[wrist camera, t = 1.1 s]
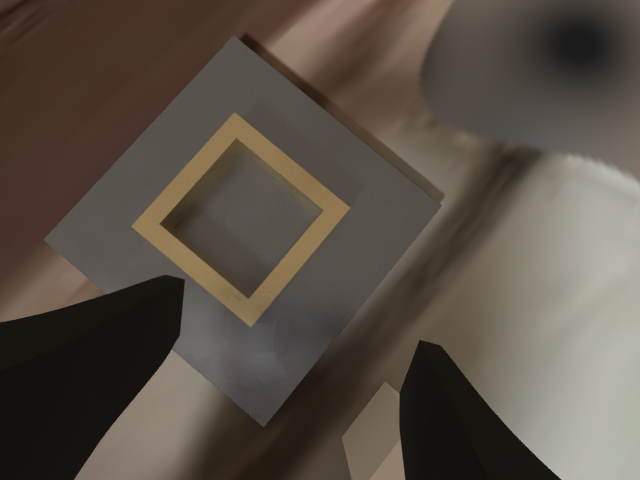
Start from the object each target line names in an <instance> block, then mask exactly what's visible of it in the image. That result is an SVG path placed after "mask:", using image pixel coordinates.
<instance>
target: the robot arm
mask: <svg viewBox="0 0 640 480" xmlns="http://www.w3.org/2000/svg"><path fill="white" fill-rule="evenodd" d="M184 286H185V279H181V278H177V277H174V276H170V275H162V276H159V277H155V278H152V279H149V280H146V281H143V282H141V283H138V284H135V285H132V286H129V287H126V288H124V289H121V290H118V291H115V292H112V293H109V294H106V295H103V296H100V297H97V298H94V299H91V300H87V301H84V302H81V303H78V304H75V305H71V306H68V307H65V308H61V309H58V310H54V311H50V312H46V313H42V314H38V315H34V316H29V317H25V318H21V319H16V320H11V321H6V322H0V480H74V479H75V477H76V476H77V474H78V473H79V471H80V470H81V468H82V467H83V465H84V464H85V462H86V461H87V459H88V458H89V456H90V455H91V453H92V452H93V451H94V449H95V448H96V446H97V445H98V443H99V442H100V440H101V439H102V438H103V436H104V435H105V434H106V432H107V431H108V430H109V428H110V427H111V426H112V424H113V423H114V422H115V421H116V420H117V418H118V417H119V416H120V415H121V414H122V412H123V411H124V410H125V409H126V407H127V406H128V405H129V404H130V403H131V401H132V400H133V399H134V398H135V397H136V395H137V394H138V393H139V392H140V391H141V389H142V388H143V387H144V386H145V384H146V383H147V382H148V381H149V380H150V378H151V377H152V376H153V375H154V373H155V372H156V371H157V370H158V368H159V367H160V366H161V365H162V363H163V362H164V360H165V359H166V357H167V356H168V354H169V353H170V351H171V349H172V348H173V346H174V344H175V343H176V341H177V339H178V338H179V336H180V330H181V319H182V308H183V297H184ZM399 429H400V439H401V447H402V456H403V465H404V473H405V480H561V479H560V478H559V477H558V476H557V475H555V474H554V473H553V472H552V471H551V470H550V469H549V468H548V467H547V466H546V465H545V464H543V463H542V462H541V461H540V460H539V459H538V458H537V457H536V456H535V455H534V454H533V453H532V452H531V451H530V450H529V449H528V448H527V447H526V446H525V445H524V444H523V443H522V442H521V441H520V440H519V439H518V438H517V437H516V436H515V435H514V434H513V433H512V431H511V430H510V429H509V428H508V427H507V426H506V425H505V424H504V423H503V421H502V420H501V419H500V418H499V417H498V416H497V415H496V414H495V413H494V411H493V410H492V409H491V408H490V407H489V406H488V404H487V403H486V402H485V401H484V400H483V398H482V397H481V396H480V395H479V394H478V392H477V391H476V390H475V389H474V387H473V386H472V385H471V384H470V382H469V381H468V380H467V378H466V377H465V376H464V375H463V373H462V372H461V371H460V369H459V368H458V367H457V366H456V364H455V363H454V362H453V360H452V359H451V358H450V356H449V355H448V354H447V353H446V351H445V350H444V349H443V348H442V347H441V346H440V345H437V344H433V343H429V342H425V341H422V340H420V341H419V343H418V346H417V349H416V351H415V354H414V357H413V359H412V362H411V365H410V367H409V370H408V373H407V375H406V378H405V381H404V383H403V386H402V389H401V391H400V399H399Z"/></svg>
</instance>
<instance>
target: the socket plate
mask: <svg viewBox="0 0 640 480" xmlns="http://www.w3.org/2000/svg"><path fill="white" fill-rule="evenodd" d="M440 207H441V205H440V204H439V203H438V202H436V201H435V200H434V199H433V198H432V197H430V196H429V195H428V194H427V193H425V192H424V191H423V190H422V189H421V188H419V187H418V186H417V185H416V184H414V183H413V182H412V181H411V180H410V179H408V178H407V177H406V176H405V175H404V174H402V173H401V172H400V171H399V170H397V169H396V168H395V167H394V166H393V165H391V164H390V163H389V162H388V161H386V160H385V159H384V158H383V157H382V156H380V155H379V154H378V153H377V152H375V151H374V150H373V149H372V148H371V147H369V146H368V145H367V144H366V143H364V142H363V141H362V140H361V139H360V138H358V137H357V136H356V135H355V134H353V133H352V132H351V131H350V130H349V129H347V128H346V127H345V126H344V125H342V124H341V123H340V122H339V121H338V120H336V119H335V118H334V117H333V116H331V115H330V114H329V113H328V112H327V111H325V110H324V109H323V108H322V107H320V106H319V105H318V104H317V103H316V102H314V101H313V100H312V99H311V98H309V97H308V96H307V95H306V94H305V93H303V92H302V91H301V90H300V89H298V88H297V87H296V86H295V85H294V84H292V83H291V82H290V81H289V80H288V79H286V78H285V77H284V76H283V75H281V74H280V73H279V72H278V71H277V70H275V69H274V68H273V67H272V66H270V65H269V64H268V63H267V62H266V61H264V60H263V59H262V58H261V57H259V56H258V55H257V54H256V53H255V52H253V51H252V50H251V49H250V48H248V47H247V46H246V45H245V44H244V43H242V42H241V41H240V40H239V39H237V38H236V37H235V36H233V37H232V38H231V39H230V40H229V41H228V42H227V43H226V44H225V45H224V46H223V48H222V49H221V50H220V51H219V52H218V53H217V54H216V55H215V56H214V57H213V58H212V59H211V60H210V61H209V63H208V64H207V65H206V66H205V67H204V68H203V69H202V70H201V71H200V72H199V73H198V74H197V75H196V77H195V78H194V79H193V80H192V81H191V82H190V83H189V84H188V85H187V86H186V87H185V88H184V89H183V91H182V92H181V93H180V94H179V95H178V96H177V97H176V98H175V99H174V100H173V101H172V102H171V103H170V104H169V106H168V107H167V108H166V109H165V110H164V111H163V112H162V113H161V114H160V115H159V116H158V117H157V118H156V120H155V121H154V122H153V123H152V124H151V125H150V126H149V127H148V128H147V129H146V130H145V131H144V132H143V134H142V135H141V136H140V137H139V138H138V139H137V140H136V141H135V142H134V143H133V144H132V145H131V146H130V147H129V149H128V150H127V151H126V152H125V153H124V154H123V155H122V156H121V157H120V158H119V159H118V160H117V161H116V163H115V164H114V165H113V166H112V167H111V168H110V169H109V170H108V171H107V172H106V173H105V174H104V175H103V176H102V178H101V179H100V180H99V181H98V182H97V183H96V184H95V185H94V186H93V187H92V188H91V189H90V190H89V192H88V193H87V194H86V195H85V196H84V197H83V198H82V199H81V200H80V201H79V202H78V203H77V204H76V206H75V207H74V208H73V209H72V210H71V211H70V212H69V213H68V214H67V215H66V216H65V217H64V218H63V219H62V221H61V222H60V223H59V224H58V225H57V226H56V227H55V228H54V229H53V230H52V231H51V232H50V233H49V235H48V236H47V237H46V238H45V239H44V241H46V242H47V243H48V244H49V245H50V246H51V247H53V248H54V249H55V250H56V251H57V252H58V253H60V254H61V255H62V256H63V257H64V258H65V259H67V260H68V261H69V262H70V263H71V264H72V265H74V266H75V267H76V268H77V269H78V270H80V271H81V272H82V273H83V274H84V275H85V276H87V277H88V278H89V279H90V280H91V281H92V282H94V283H95V284H96V285H97V286H98V287H99V288H101V289H102V290H103V291H104V292H105V293H107V294H109V293H112V292H115V291H118V290H121V289H124V288H126V287H129V286H132V285H135V284H138V283H141V282H143V281H146V280H149V279H152V278H155V277H159V276H162V275H170V276H174V277H177V278H181V279H185V286H184V297H183V308H182V319H181V330H180V336H179V338H178V339H177V341H176V343H175V344H174V346H173V348H172V350H173V351H175V352H176V353H177V354H178V355H179V356H180V357H182V358H183V359H184V360H185V361H186V362H187V363H189V364H190V365H191V366H192V367H193V368H195V369H196V370H197V371H198V372H199V373H200V374H202V375H203V376H204V377H205V378H206V379H207V380H209V381H210V382H211V383H212V384H213V385H214V386H216V387H217V388H218V389H219V390H220V391H221V392H223V393H224V394H225V395H226V396H227V397H229V398H230V399H231V400H232V401H233V402H234V403H236V404H237V405H238V406H239V407H240V408H241V409H243V410H244V411H245V412H246V413H247V414H248V415H250V416H251V417H252V418H253V419H254V420H256V421H257V422H258V423H259V424H260V425H261V426H263V427H265V425H266V424H267V423H268V422H269V420H270V419H271V418H272V417H273V415H274V414H275V413H276V412H277V410H278V409H279V408H280V407H281V405H282V404H283V403H284V402H285V400H286V399H287V398H288V397H289V395H290V394H291V393H292V392H293V390H294V389H295V388H296V387H297V385H298V384H299V383H300V382H301V381H302V379H303V378H304V377H305V376H306V374H307V373H308V372H309V371H310V369H311V368H312V367H313V366H314V364H315V363H316V362H317V361H318V359H319V358H320V357H321V356H322V354H323V353H324V352H325V351H326V349H327V348H328V347H329V346H330V344H331V343H332V342H333V341H334V339H335V338H336V337H337V336H338V334H339V333H340V332H341V331H342V329H343V328H344V327H345V326H346V324H347V323H348V322H349V321H350V319H351V318H352V317H353V316H354V315H355V313H356V312H357V311H358V310H359V308H360V307H361V306H362V305H363V303H364V302H365V301H366V300H367V298H368V297H369V296H370V295H371V293H372V292H373V291H374V290H375V288H376V287H377V286H378V285H379V283H380V282H381V281H382V280H383V278H384V277H385V276H386V275H387V273H388V272H389V271H390V270H391V268H392V267H393V266H394V265H395V263H396V262H397V261H398V260H399V258H400V257H401V256H402V255H403V254H404V252H405V251H406V250H407V249H408V247H409V246H410V245H411V244H412V242H413V241H414V240H415V239H416V237H417V236H418V235H419V234H420V232H421V231H422V230H423V229H424V227H425V226H426V225H427V224H428V222H429V221H430V220H431V219H432V217H433V216H434V215H435V214H436V212H437V211H438V210H439V209H440Z"/></svg>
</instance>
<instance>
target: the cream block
mask: <svg viewBox="0 0 640 480" xmlns="http://www.w3.org/2000/svg"><path fill="white" fill-rule="evenodd" d="M399 399H400V394H399V393H398V392H397V391H395V390H394V389H393V388H392V387H391V386H389V385H388V384H387V383H386V382H384V383H383V385H382V386H381V387H380V388H379V390H378V391H377V392H376V394H375V395H374V396H373V397H372V399H371V400H370V401H369V403H368V404H367V405H366V407H365V408H364V409H363V410H362V412H361V413H360V414H359V416H358V417H357V418H356V419H355V421H354V422H353V423H352V425H351V426H350V427H349V428H348V430H347V431H346V432H345V434H344V435H343V436H342V441H343V445H344V450H345V454H346V458H347V462H348V467H349V471H350V475H351V479H352V480H405V473H404V465H403V456H402V447H401V439H400V429H399Z"/></svg>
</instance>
